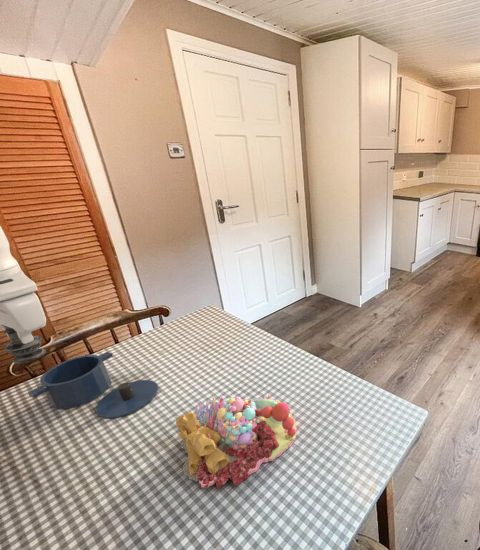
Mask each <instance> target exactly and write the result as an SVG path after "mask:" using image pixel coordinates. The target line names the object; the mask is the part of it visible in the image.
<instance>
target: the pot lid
mask: <svg viewBox="0 0 480 550" xmlns="http://www.w3.org/2000/svg"><path fill="white" fill-rule="evenodd" d="M158 392H159V386H158V384H157V382H156V381H153V380H150V379H140V380H139V379H138V380H134V381H131V382H128V381H127V382H126V381H125V382H123V383H121V384H119V385H118V386H117V387H116V388H114V389H113V390H111V391H110V392H108V393H107V394H105V395H104V396H103V397H102V398H101V399H100V400H99V402H98V403H97V405H96V409H95V411H96V414H97V416H99V417H100V418H102V419H107V420H112V419H114V420H115V419H119V418H123V417H126V416H129V415H131V414H134V413H136V412H138V411H139V410H141V409H143V408H144V407H146V406H147V405H148V404H150V403H151V402H152V401H153V400H154V399H155V398H156V396H157V394H158Z"/></svg>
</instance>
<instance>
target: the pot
mask: <svg viewBox="0 0 480 550" xmlns="http://www.w3.org/2000/svg"><path fill="white" fill-rule="evenodd" d="M112 357H114V355H113V353H112V352H108V351H106V352H104V353H102V354H100V355H97V354H86V355H80V356H76V357H73V358H70V359H67V360H65V361H62V362H61V363H59V364H56V365H54V366H52V367H51V368H50V369H48V370H47V371H45V372H44V373H43V374H42V376H40V378H39V381H40V382H39V386H38V387H35V388H33V389H32V390H29V391H28V392H27V394H28V396H29V397H31V398H33V399H36V398H37V397H39V396H41V395H43V394H45V395H46V397H47V399H48V401H49V403H50V405H51V407H52V408H54V409H56V410H70V409H75V408H78V407H81V406H83V405H85V404H88V403H91V402H93V401H95V400H96V399H97V398H100V397H101V396H102V395H103V394H104V393H106V392H107V391H108V390H109V389H110V387H111V385H112V380H111V377H110V374H109V372H108V370H107V367H106V365H105V361H108V360H109V359H111V358H112Z"/></svg>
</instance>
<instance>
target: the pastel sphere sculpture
mask: <svg viewBox="0 0 480 550" xmlns="http://www.w3.org/2000/svg"><path fill="white" fill-rule="evenodd" d="M199 414H200V415H199ZM175 425H176V427H177V429H178V431H179V432H178V433H177V434H176V436H178V437H179V438H180V439H181V440H182V442H181V443H180V449H182V450H184V453H186V454H187V455H188V456H187V457H186V458H185V460H184V464H182V471H183V472H182V474H183V475H185V476H188V479H189V480H191V481H194V482H198V483H199V485H200V487H201V488H202V489H205V488H209V487H211V486H213V485H215V484H216V490H217V492H219V491H220V490H221V489H222V488H223V486H225V484H226V483H227V482H228V481H229V480H230V481H232V483H233V487H236V486H238V485H239V484H241V483H242V482H244V481H246V480H247V479H249V478H250V475H252V474H254V473H257V472H258V470H259V469H260V467H261V465H262V464H263V463H268V462H273V461H274V460H276V458H278V457H281V456H282V455H283V453H284V452H286V451H287V450H288V449H289V448H291V447H292V445H293V443H294V442H295V440H296V438H297V432H298V428H297V422H296V420H295V418H294V417H293V414H292V411H290V406H289V405H288V403H286V402H281V401H279V400H275V399H272V398H271V395H270V394H268V396H267V398H266V397H265V396H264V395H263V396H262V398H255V399H252V400H251V399H242V398H241V396H239V395H238V396H235V397H230V398H223V396H221V397H220V399H219V403H218V401H216V400H215V395H213V396H212V401H211V403H210V405H209V402H208V400H206V403H205V405H204V404H202V401H199V402H198V406H197V405H196V406H195V413H194V412H192V411H189V412H187V413H184V414H183V415H179V416H178V417H177V418H176V421H175Z"/></svg>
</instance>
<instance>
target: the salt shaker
mask: <svg viewBox="0 0 480 550" xmlns="http://www.w3.org/2000/svg"><path fill="white" fill-rule="evenodd" d="M4 327H5V329H6V330H3V333H4V334H6V333H7V334H8V336H9V337H8V336H7V337H8V338H9V343H8V344H6V345H5V346H4V348H3V350H4V351H5V352H7V353H8V354H9V355H11V356H14V359H12V363H13V364H16V365H17V364H18V365H19V364H25V363H29V362H32V361H35V360H37V359H39V358H41V357H42V356H44V355H45V354H46V353H47V349H46V348H41V346H42V340H43V337H42V336H41V335H32V336H33V338H34V340H33V341H31V342H29V343H26V344H24V343H21V342H19V339H18V338H17V336H18V334H17V332H16V331H15V330H14V329H12V328H10V327H7V326H4ZM7 334H6V335H7Z"/></svg>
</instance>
